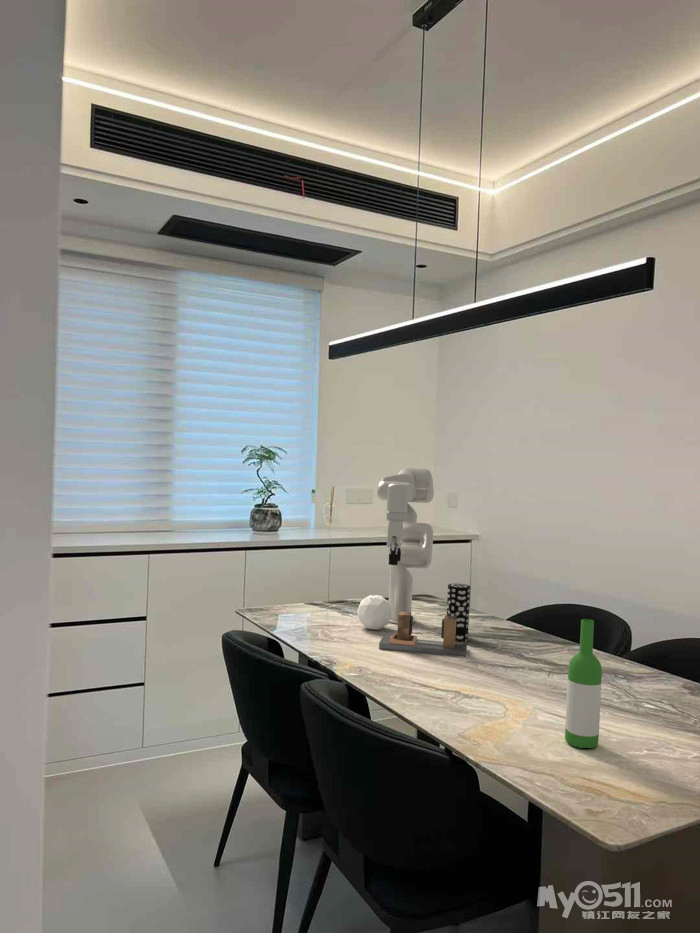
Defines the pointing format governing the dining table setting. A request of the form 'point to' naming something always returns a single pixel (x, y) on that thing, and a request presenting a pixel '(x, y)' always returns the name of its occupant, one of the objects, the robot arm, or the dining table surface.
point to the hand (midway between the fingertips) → (394, 562)
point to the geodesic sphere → (374, 612)
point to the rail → (429, 642)
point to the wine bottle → (584, 693)
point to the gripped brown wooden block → (404, 625)
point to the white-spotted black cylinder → (459, 608)
